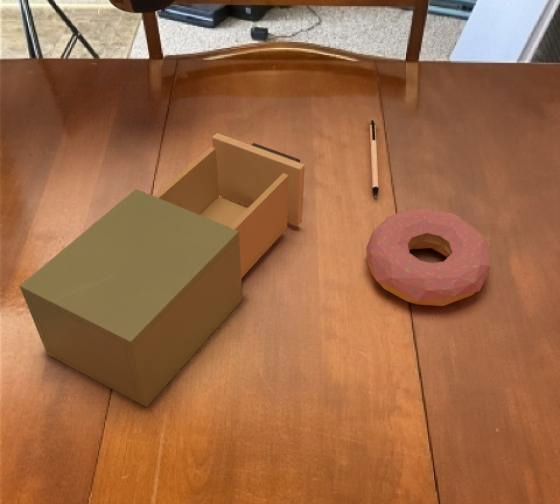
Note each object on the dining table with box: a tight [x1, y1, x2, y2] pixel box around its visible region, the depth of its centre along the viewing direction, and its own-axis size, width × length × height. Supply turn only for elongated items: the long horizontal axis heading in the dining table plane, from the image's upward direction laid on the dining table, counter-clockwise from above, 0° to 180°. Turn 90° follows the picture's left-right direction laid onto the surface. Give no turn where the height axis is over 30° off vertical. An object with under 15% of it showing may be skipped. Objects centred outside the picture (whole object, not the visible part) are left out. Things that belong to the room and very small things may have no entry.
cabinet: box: [19, 188, 243, 408], centre depth 76 cm, size 19×14×11 cm
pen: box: [369, 119, 380, 198], centre depth 101 cm, size 1×19×1 cm, turn 177°
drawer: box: [153, 132, 306, 279], centre depth 86 cm, size 22×13×9 cm, turn 149°
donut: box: [365, 208, 491, 307], centre depth 84 cm, size 16×15×5 cm
